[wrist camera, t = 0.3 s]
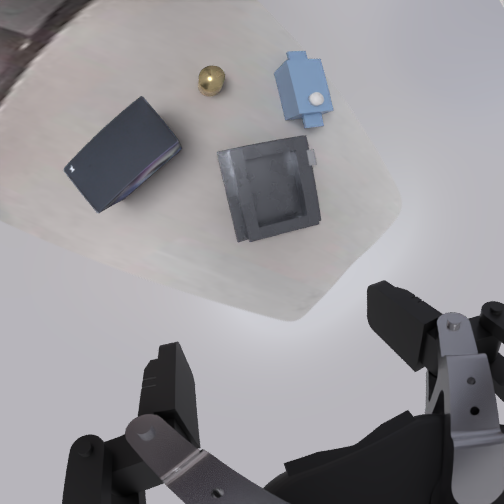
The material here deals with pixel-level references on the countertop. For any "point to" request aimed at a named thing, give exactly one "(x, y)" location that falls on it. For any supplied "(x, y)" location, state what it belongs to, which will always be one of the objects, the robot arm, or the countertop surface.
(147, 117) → the small box
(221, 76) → the cylinder
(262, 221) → the frame
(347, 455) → the robot arm
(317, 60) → the servo
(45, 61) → the countertop surface
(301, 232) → the countertop surface
